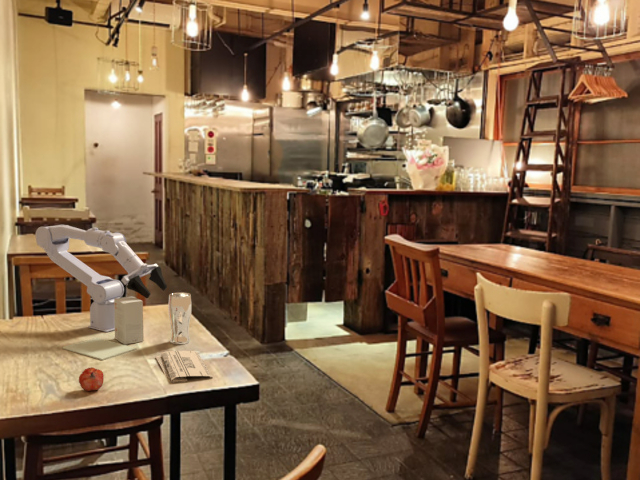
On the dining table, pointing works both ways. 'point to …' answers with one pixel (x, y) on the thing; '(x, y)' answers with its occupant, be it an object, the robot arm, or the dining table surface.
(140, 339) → the small box
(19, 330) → the dining table surface
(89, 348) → the mat
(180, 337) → the beer glass
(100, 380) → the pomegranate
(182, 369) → the newspaper
